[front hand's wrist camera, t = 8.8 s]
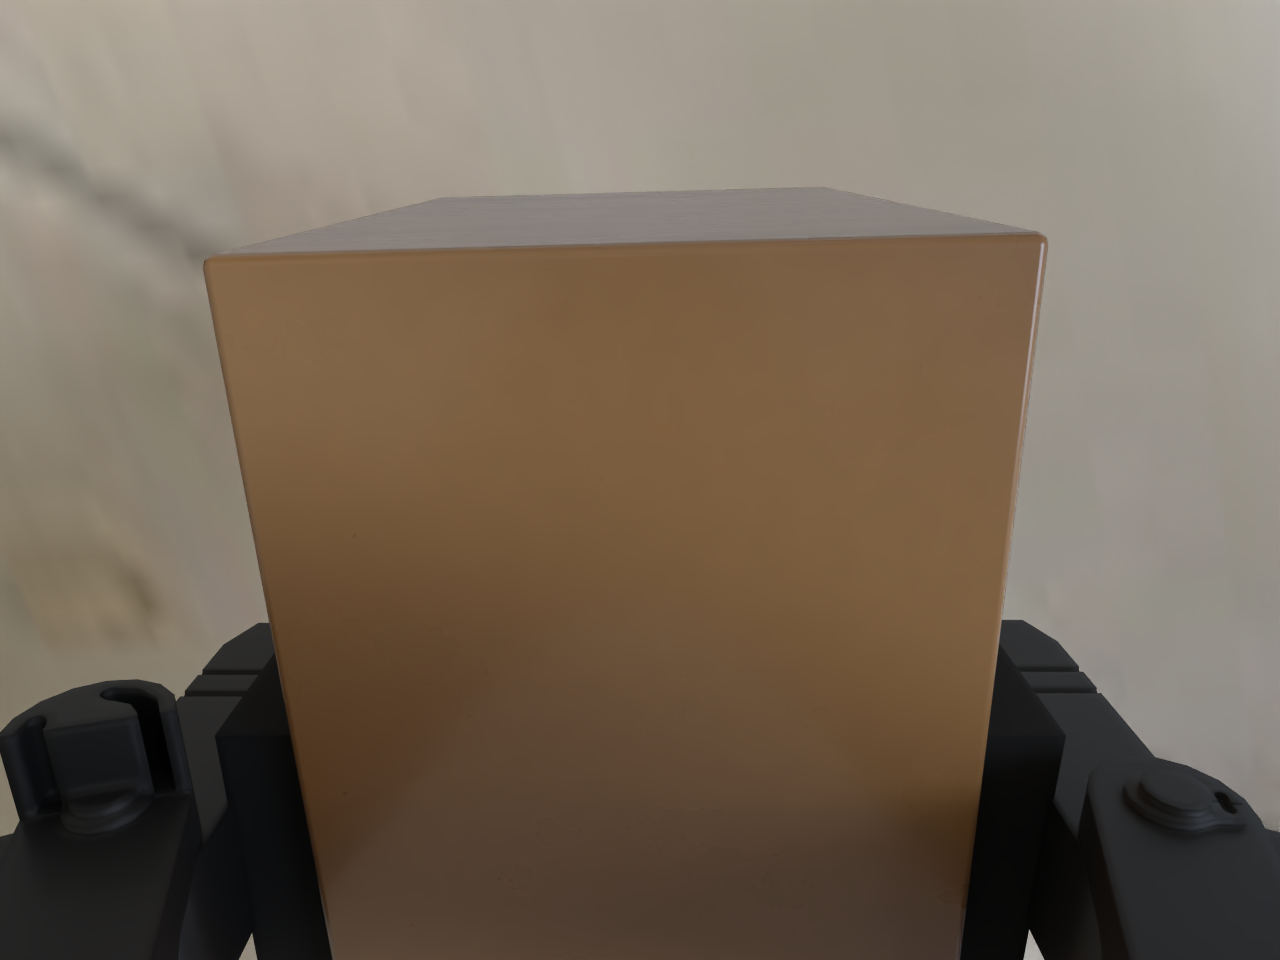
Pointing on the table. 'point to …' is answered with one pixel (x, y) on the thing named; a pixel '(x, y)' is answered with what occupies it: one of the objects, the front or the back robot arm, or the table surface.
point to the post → (636, 563)
